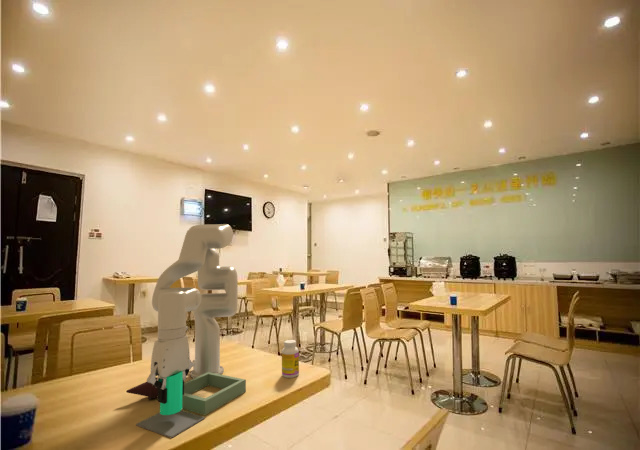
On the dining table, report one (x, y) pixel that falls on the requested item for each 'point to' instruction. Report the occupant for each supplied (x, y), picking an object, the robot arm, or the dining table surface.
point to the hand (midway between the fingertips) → (171, 397)
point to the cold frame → (206, 405)
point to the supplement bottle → (290, 359)
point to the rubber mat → (170, 423)
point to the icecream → (145, 390)
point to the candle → (173, 395)
